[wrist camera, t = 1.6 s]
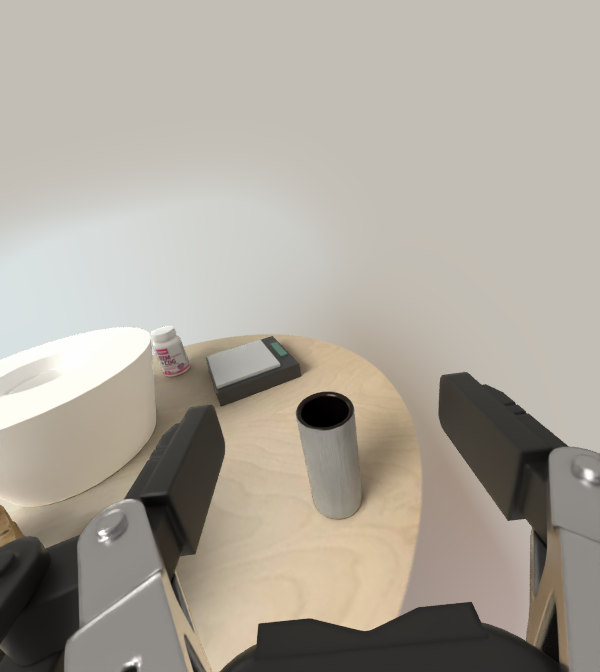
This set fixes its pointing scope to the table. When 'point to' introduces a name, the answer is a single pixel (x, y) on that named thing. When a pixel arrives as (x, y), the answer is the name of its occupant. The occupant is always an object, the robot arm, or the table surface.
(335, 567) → the table surface
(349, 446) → the planter
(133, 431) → the bowl
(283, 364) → the scale
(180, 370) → the pill bottle
